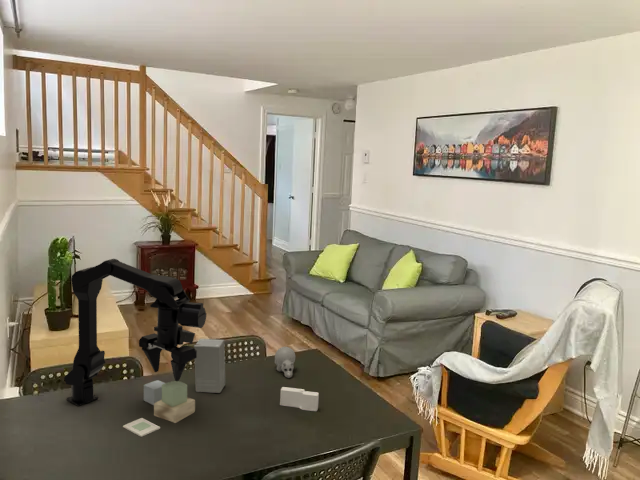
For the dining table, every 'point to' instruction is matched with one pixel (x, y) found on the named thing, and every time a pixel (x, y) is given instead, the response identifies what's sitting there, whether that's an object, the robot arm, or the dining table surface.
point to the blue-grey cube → (153, 392)
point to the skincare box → (210, 366)
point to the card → (141, 427)
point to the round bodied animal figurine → (285, 360)
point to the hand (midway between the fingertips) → (166, 376)
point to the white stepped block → (299, 398)
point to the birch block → (174, 410)
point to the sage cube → (174, 393)
